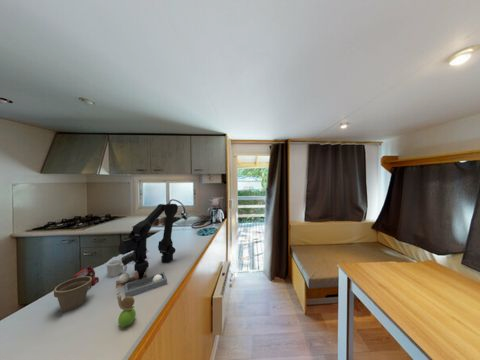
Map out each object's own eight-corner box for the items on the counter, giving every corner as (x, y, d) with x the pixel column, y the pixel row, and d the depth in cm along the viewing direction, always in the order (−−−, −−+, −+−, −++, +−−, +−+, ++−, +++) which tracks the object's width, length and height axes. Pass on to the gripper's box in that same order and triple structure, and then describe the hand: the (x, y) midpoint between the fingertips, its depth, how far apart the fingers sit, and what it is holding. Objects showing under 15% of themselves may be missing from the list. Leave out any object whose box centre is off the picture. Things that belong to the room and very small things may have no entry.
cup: (131, 272, 96) (131, 258, 96) (120, 280, 88) (120, 265, 88) (115, 271, 97) (115, 258, 97) (102, 279, 89) (102, 264, 89)
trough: (163, 278, 90) (163, 272, 90) (166, 286, 83) (166, 279, 83) (125, 291, 79) (125, 283, 79) (125, 300, 73) (125, 292, 73)
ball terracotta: (144, 274, 92) (144, 266, 92) (145, 278, 89) (145, 269, 89) (134, 277, 89) (134, 269, 90) (135, 281, 86) (135, 272, 86)
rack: (146, 274, 94) (146, 271, 94) (147, 280, 88) (147, 277, 88) (116, 283, 86) (116, 280, 86) (115, 290, 80) (115, 287, 80)
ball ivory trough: (161, 280, 88) (161, 271, 88) (162, 284, 84) (163, 275, 84) (151, 283, 85) (152, 274, 85) (153, 287, 81) (153, 278, 81)
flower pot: (74, 296, 75) (75, 275, 75) (98, 297, 75) (98, 275, 75) (43, 317, 64) (44, 291, 64) (71, 318, 63) (72, 292, 64)
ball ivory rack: (129, 278, 88) (129, 270, 88) (129, 282, 84) (129, 274, 84) (119, 281, 85) (119, 273, 85) (118, 286, 82) (119, 277, 82)
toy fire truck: (101, 281, 88) (101, 261, 88) (82, 296, 75) (83, 274, 76) (86, 282, 86) (87, 262, 87) (65, 298, 74) (66, 275, 74)
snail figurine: (121, 318, 63) (122, 287, 63) (138, 317, 64) (139, 287, 64) (111, 331, 58) (112, 297, 58) (130, 330, 58) (130, 296, 59)
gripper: (122, 245, 92) (121, 272, 92) (122, 257, 77) (122, 290, 77) (144, 241, 99) (144, 266, 98) (149, 251, 84) (148, 281, 83)
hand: (139, 275), depth 89 cm, fingers open, 8 cm apart
